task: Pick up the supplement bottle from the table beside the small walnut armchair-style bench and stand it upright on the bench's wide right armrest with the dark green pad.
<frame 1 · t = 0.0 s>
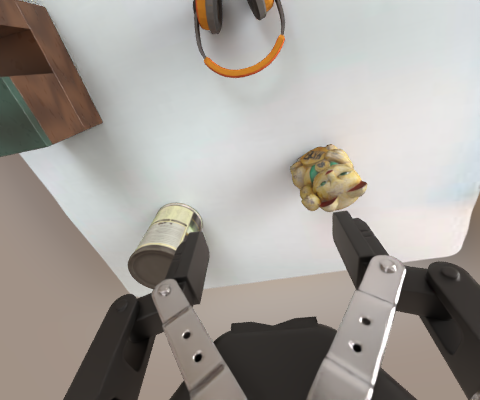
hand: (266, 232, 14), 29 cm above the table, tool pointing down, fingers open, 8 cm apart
coffee can: (179, 221, 51), on the table
bench: (49, 78, 37), on the table
decorative figurine: (316, 164, 43), on the table
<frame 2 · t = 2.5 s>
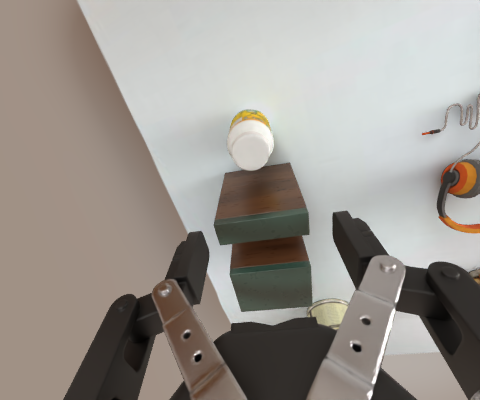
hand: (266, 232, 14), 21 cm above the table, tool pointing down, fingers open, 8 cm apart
coffee can: (328, 310, 54), on the table
bench: (263, 210, 39), on the table
headphones: (474, 158, 33), on the table
supplement bottle: (250, 128, 32), on the table
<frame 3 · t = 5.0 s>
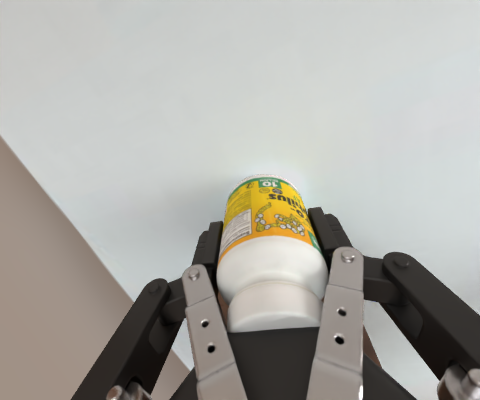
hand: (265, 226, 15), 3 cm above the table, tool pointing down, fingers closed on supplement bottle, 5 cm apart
bench: (283, 315, 24), on the table
supplement bottle: (263, 203, 17), on the table, touching gripper
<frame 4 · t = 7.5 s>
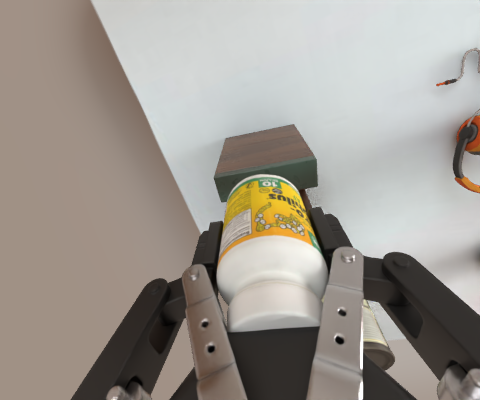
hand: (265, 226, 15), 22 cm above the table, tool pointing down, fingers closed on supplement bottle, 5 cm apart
coffee can: (336, 291, 52), on the table
bench: (267, 179, 37), on the table
supplement bottle: (263, 203, 17), point 19 cm above the table, touching gripper
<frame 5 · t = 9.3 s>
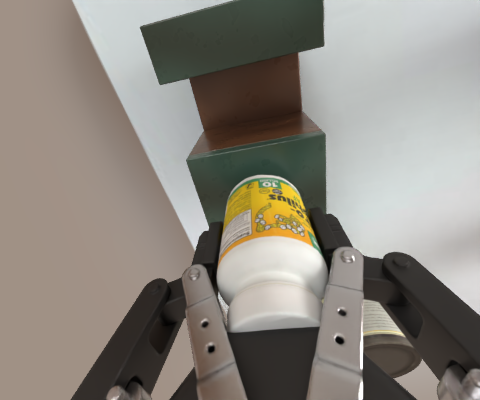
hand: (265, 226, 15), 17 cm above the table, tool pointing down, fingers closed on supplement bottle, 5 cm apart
coffee can: (340, 275, 42), on the table
bench: (251, 111, 27), on the table
supplement bottle: (263, 203, 17), point 14 cm above the table, touching gripper
when the fingers open (16 cm above the table, at t = 10.3 s): supplement bottle stays where it is, resting on bench.
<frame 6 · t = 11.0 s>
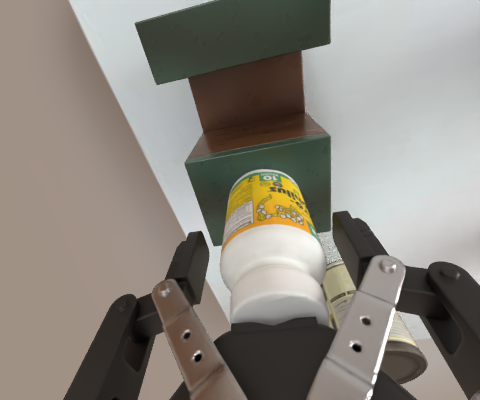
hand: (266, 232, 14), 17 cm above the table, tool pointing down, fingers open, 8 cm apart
coffee can: (343, 278, 41), on the table
bench: (252, 112, 26), on the table
supplement bottle: (264, 197, 17), point 13 cm above the table, touching bench
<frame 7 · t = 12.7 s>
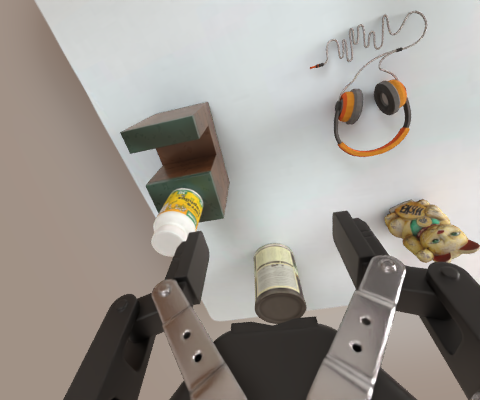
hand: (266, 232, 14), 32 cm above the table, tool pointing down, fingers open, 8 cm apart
coffee can: (273, 257, 58), on the table
bench: (194, 150, 44), on the table
headphones: (362, 91, 38), on the table
decorative figurine: (404, 213, 50), on the table
supplement bottle: (186, 201, 35), point 13 cm above the table, touching bench
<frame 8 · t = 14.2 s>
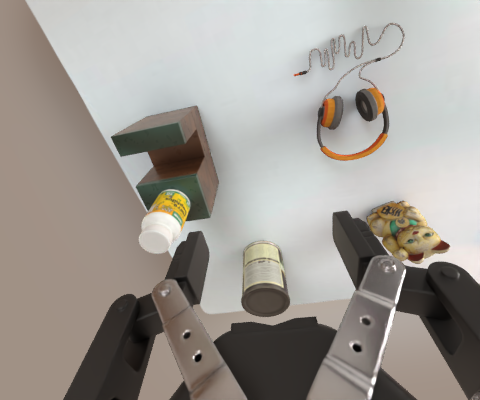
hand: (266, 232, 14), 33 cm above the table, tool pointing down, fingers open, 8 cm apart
coffee can: (262, 254, 61), on the table
bench: (185, 152, 46), on the table
headphones: (344, 98, 40), on the table
decorative figurine: (386, 213, 53), on the table
supplement bottle: (175, 201, 37), point 13 cm above the table, touching bench
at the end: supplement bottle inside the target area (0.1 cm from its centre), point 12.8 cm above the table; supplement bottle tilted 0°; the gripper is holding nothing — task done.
